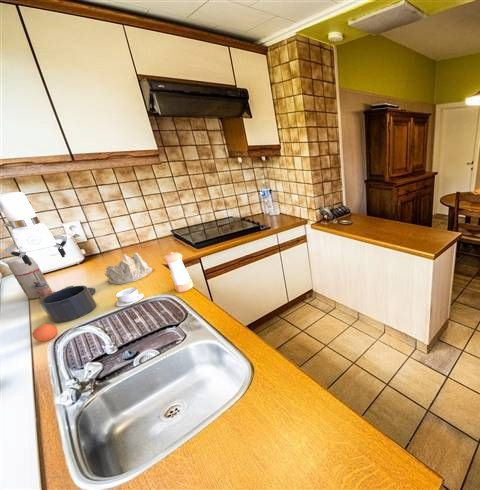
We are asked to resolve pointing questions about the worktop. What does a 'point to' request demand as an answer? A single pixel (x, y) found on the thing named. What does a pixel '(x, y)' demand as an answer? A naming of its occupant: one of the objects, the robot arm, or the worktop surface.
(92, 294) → the pot lid
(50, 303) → the pot
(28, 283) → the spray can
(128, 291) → the teacup
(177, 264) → the salt shaker
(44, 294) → the lighter
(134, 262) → the jagged rock
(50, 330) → the ball
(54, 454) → the worktop surface
